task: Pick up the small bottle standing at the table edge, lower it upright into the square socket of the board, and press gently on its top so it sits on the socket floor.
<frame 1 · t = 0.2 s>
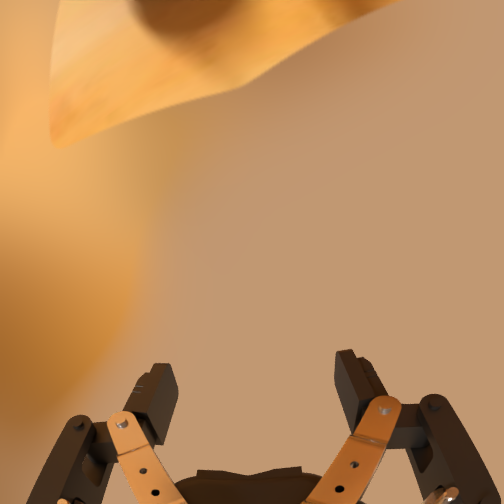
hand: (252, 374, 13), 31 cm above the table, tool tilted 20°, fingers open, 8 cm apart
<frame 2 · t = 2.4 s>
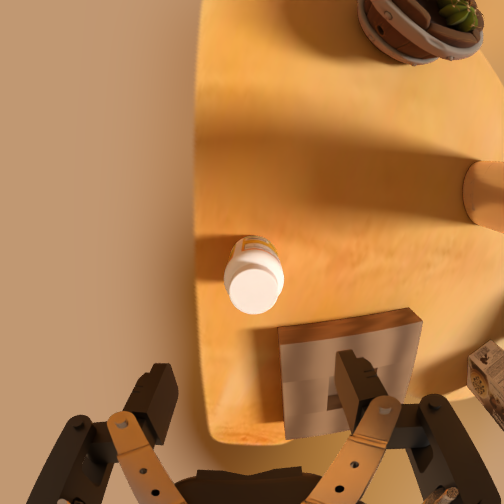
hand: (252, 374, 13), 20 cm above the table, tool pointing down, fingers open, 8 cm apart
supplement bottle: (253, 258, 32), on the table
socket board: (344, 372, 36), on the table
flowerpot: (394, 31, 24), on the table
coffee box: (478, 362, 37), on the table
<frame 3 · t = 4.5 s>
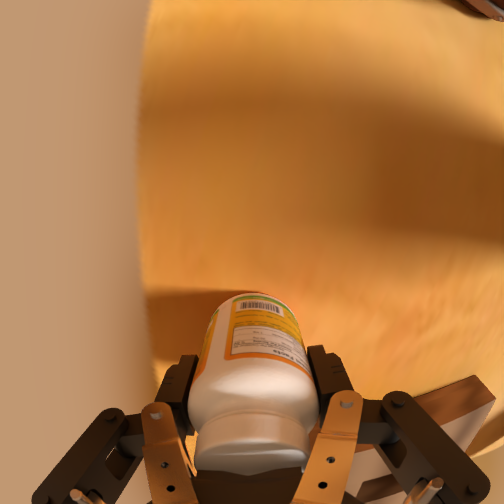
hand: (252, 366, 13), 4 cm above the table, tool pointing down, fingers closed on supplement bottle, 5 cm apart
supplement bottle: (253, 329, 17), on the table, touching gripper
socket board: (378, 458, 21), on the table
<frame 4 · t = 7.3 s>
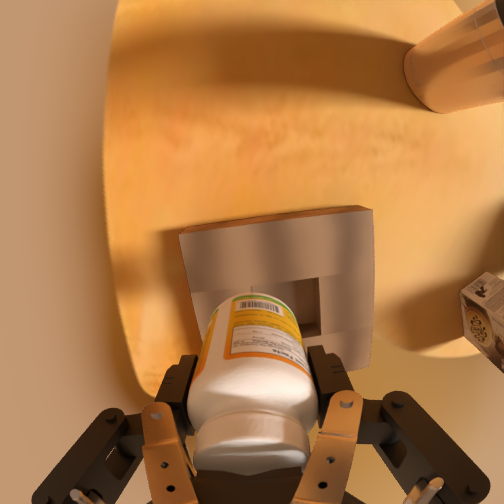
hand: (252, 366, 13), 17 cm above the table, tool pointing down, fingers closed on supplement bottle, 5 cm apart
supplement bottle: (253, 329, 17), point 14 cm above the table, touching gripper
socket board: (283, 296, 31), on the table
coffee box: (475, 303, 32), on the table
when the fingers open (5 cm above the table, at t = 10.1 s): supplement bottle stays where it is, resting on socket board.
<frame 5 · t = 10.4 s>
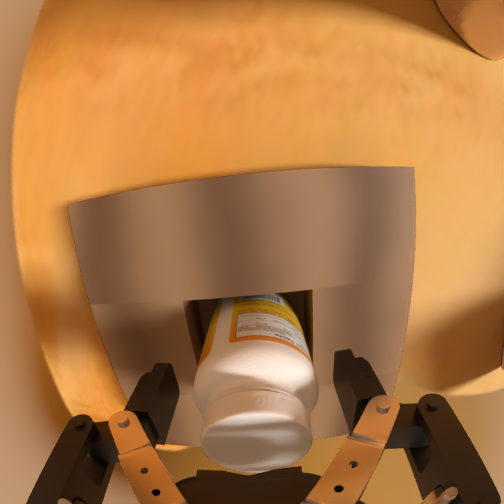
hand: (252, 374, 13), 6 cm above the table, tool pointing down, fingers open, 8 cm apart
supplement bottle: (254, 321, 18), point 1 cm above the table, touching socket board
socket board: (253, 316, 19), on the table
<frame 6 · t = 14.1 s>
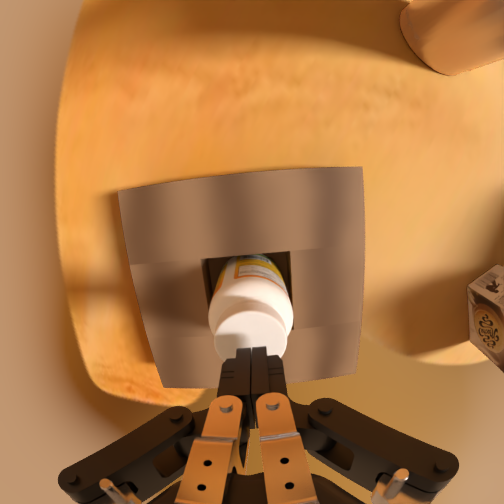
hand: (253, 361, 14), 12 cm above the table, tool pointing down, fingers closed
supplement bottle: (250, 280, 24), point 1 cm above the table, touching socket board
socket board: (249, 278, 25), on the table
coffee box: (483, 302, 26), on the table
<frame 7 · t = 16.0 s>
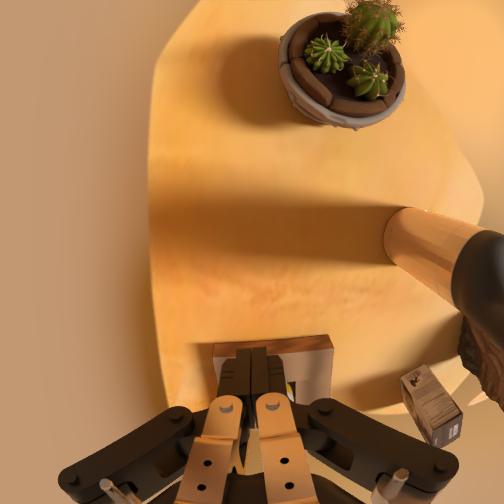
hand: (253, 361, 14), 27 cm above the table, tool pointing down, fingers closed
socket board: (274, 381, 46), on the table
flowerpot: (325, 88, 34), on the table
owl: (475, 325, 44), on the table
coffee box: (413, 382, 47), on the table
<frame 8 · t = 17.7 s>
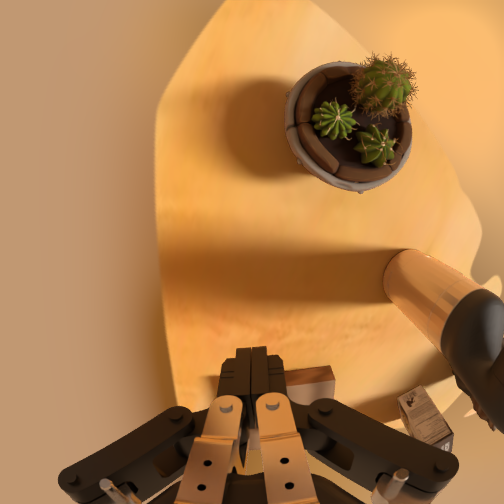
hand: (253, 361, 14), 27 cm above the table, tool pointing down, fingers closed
socket board: (281, 406, 48), on the table
flowerpot: (330, 135, 36), on the table
owl: (469, 348, 46), on the table
coffee box: (410, 401, 49), on the table
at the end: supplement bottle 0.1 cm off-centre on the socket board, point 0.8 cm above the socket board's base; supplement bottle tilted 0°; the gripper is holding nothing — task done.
